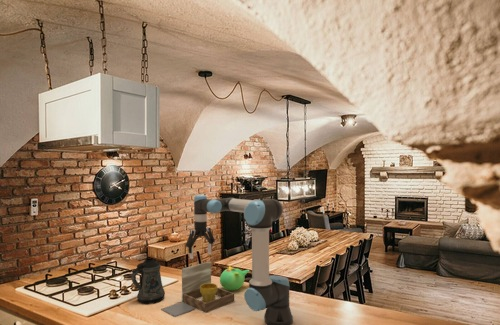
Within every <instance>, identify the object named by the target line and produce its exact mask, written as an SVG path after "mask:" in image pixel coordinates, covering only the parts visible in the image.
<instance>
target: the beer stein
mask: <svg viewBox="0 0 500 325" xmlns="http://www.w3.org/2000/svg"><path fill="white" fill-rule="evenodd" d="M138 274H140V277H139V278H140V280H139V282H138V281H137V278H136V277H137V276H138ZM130 276H131V279H130V280H131V282H132V284H133V285H134V286H135V287H136V288H137V289H138V293H137V295H136V296H137V301H138V303H139V304H142V305H154V304H155V305H156V304H158V303H160V302H162V301H164V299H165V295H166V291H165V289H164V286H163V282H162V276H161V263H159V262H158V261H157V260H155V259H154V258H153V257H148V258H146V259H144V261H143V262H141V263H138V264H137V265H136V268H135V269H133V271H132V272H131V275H130Z"/></svg>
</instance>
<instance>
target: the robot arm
mask: <svg viewBox="0 0 500 325" xmlns="http://www.w3.org/2000/svg"><path fill="white" fill-rule="evenodd" d="M193 211H194V212H193V214H194V215H193V216H194V217H193V220H194V222H193V223H194V225H193V226H194V230H192V229H190V230H189V234H188V238H187V239H186V240H187V241H186V243H185V247H186V248H188V254H189V259H190V260H193V259H194V245H195V243H196V241H197V239H198V238H201V237H204V238H205V240H206V242H208V243H207V255H212V248H213V244H214V243H215V242H216V241H215V240H216V239H215V238H214V234H213V233H212V229H211V227H208V224H207V223H208V222H207V220H208V216H207V215H208V213H210V214H218V213H220V212H225V211H226V212H237V213H243V218H244V220H245V222H246V224H248V229H250V230H251V279H249V281H248V288H246V289H245V291H244V295H243V296H244V300H245V303H246V305H247V306H248V308H249V309H251V311H253V312H261V311H263V310H265V313H264V316H263V317H264V318H263V321H264V323H265V325H292V324H293V322H294V317H293V314H292V311H291V307H290V280H289V278H288V277H285V276H281V275H274V274H273V275H272V274H271V275H270V230H271V229H272V228H273V222H276V221H278V220H279V219H280V218H281V217H282V216H283V211H284V209H283V205H282V203H281V202H280V201H279V200H277V199H274V198H267V199H258V200H256V199H255V200H253V199H243V198H234V197H227V198H214V199H209V198H208V197H207V194H206V195H205V194H203V195H202V194H197V195H195V196H194V200H193Z"/></svg>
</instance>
